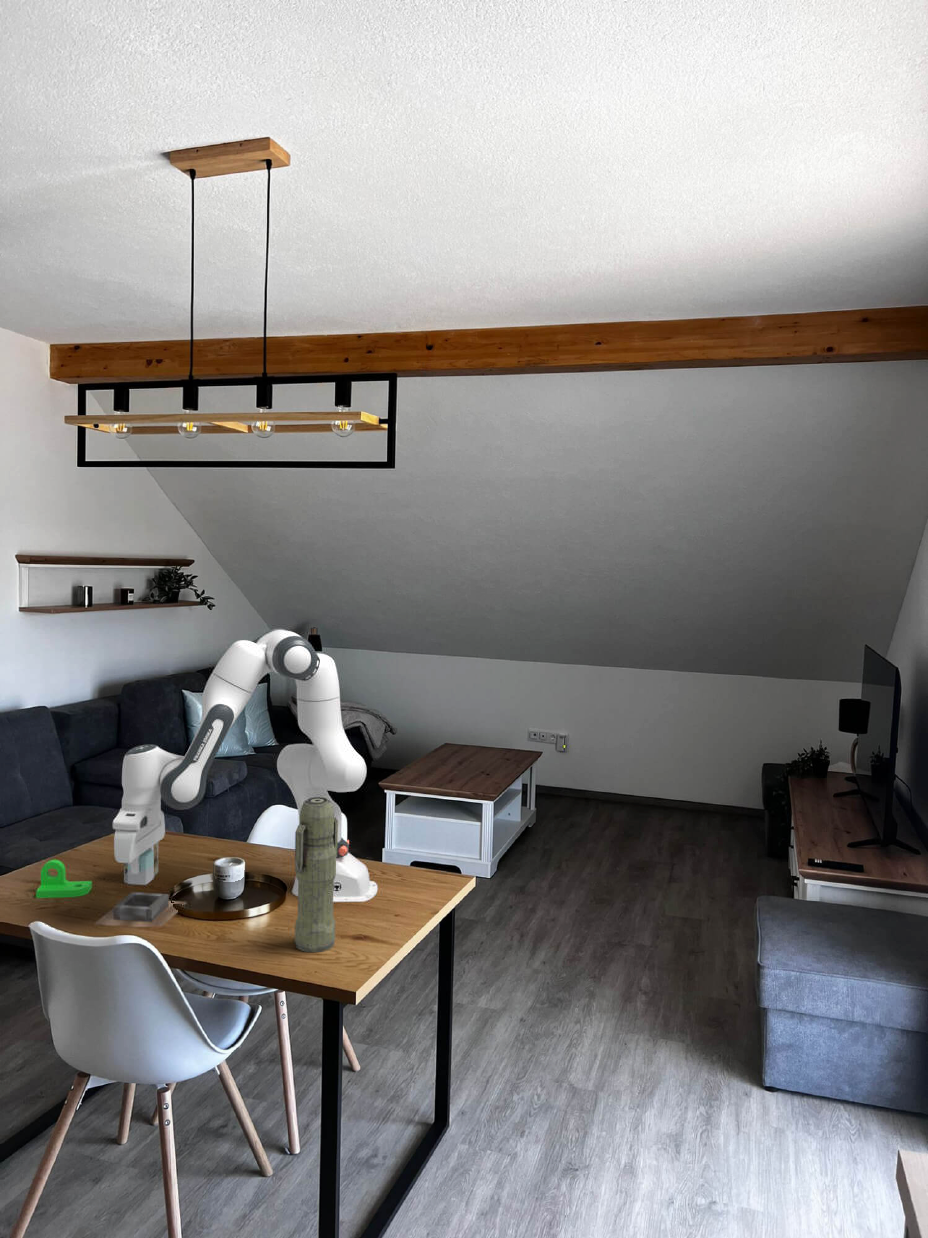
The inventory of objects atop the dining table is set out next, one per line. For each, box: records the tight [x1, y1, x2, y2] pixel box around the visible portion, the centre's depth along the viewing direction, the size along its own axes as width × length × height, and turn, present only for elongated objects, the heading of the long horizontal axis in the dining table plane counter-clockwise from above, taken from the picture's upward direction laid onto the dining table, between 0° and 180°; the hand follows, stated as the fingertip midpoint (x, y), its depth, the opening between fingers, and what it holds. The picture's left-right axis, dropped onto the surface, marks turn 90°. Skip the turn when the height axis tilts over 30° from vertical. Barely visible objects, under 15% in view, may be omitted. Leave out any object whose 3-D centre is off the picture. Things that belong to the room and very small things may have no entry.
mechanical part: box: [35, 859, 93, 899], centre depth 234 cm, size 12×6×8 cm, turn 99°
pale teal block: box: [127, 850, 155, 886], centre depth 220 cm, size 4×4×7 cm
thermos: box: [294, 797, 338, 953], centre depth 204 cm, size 9×12×35 cm
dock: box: [93, 891, 187, 928], centre depth 221 cm, size 16×16×4 cm
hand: (141, 868), depth 220 cm, fingers closed on pale teal block, 4 cm apart
